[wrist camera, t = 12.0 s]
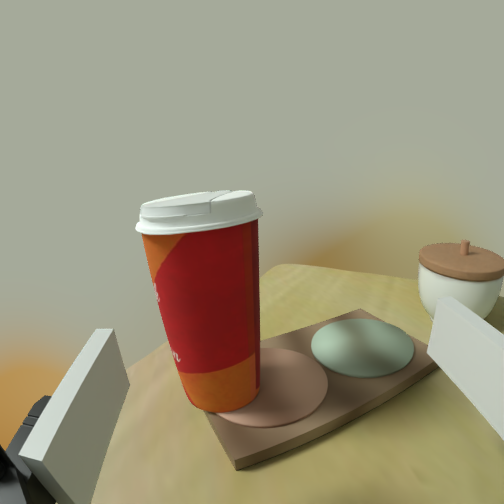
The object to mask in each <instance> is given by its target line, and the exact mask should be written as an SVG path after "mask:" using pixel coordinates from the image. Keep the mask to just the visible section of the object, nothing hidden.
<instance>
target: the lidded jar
mask: <svg viewBox="0 0 504 504" xmlns="http://www.w3.org/2000/svg"><path fill="white" fill-rule="evenodd" d="M469 244H470V241H468V240H461V244H455V243H437V244H431V245H427V246H425V247H423V248H422V249H421V250H420V252H419V272H418V288H419V295H420V299H421V302H422V305H423V307H424V308H425V310H426V312H427V313H428V314H429V315H430V319H431V321H432V322H433V321H434V316H435V311H436V305H437V299H438V298H443V297H448V296H451V297H453V298H454V299H456V300H457V301H458V302H460V303H461V304H463V305H464V306H465V307H467V308H468V309H470V310H471V311H472V312H474V313H475V314H476V315H478V316H479V317H481V318H482V319H484V318H485V317H486V316H487V315H488V314H489V313H490V312H491V310H492V309H493V307H494V305H495V303H496V301H497V299H498V296H499V293H500V290H501V286H502V282H503V277H504V259H503V258H502V257H501V256H499V255H498V254H496V253H494V252H491V251H489V250H486V249H483V248H480V247H475V246H471V245H469Z"/></svg>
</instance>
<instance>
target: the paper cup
mask: <svg viewBox="0 0 504 504" xmlns="http://www.w3.org/2000/svg"><path fill="white" fill-rule="evenodd" d="M262 215H263V212H262V210H261V209H260V208H258V207H257V205H256V200H255V196H254V194H253V192H251V191H244V190H238V191H234V192H233V191H231V190H227V191H216V192H202V193H193V194H186V195H179V196H173V197H167V198H162V199H158V200H153V201H150V202H146V203H144V204H142V206H141V207H140V222H138V223H137V224H136V231H138V232H141V233H142V238H143V242H144V247H145V252H146V256H147V260H148V265H149V269H150V273H151V277H152V281H153V285H154V289H155V293H156V297H157V301H158V305H159V309H160V313H161V316H162V320H163V323H164V327H165V331H166V334H167V337H168V341H169V344H170V347H171V351H172V354H173V357H174V360H175V364H176V367H177V370H178V373H179V376H180V379H181V381H182V384H183V387H184V390H185V392H186V395H187V397H188V399H189V400H190V402H191V403H192V404H193V405H194V406H196V407H197V408H199V409H201V410H204V411H208V412H215V413H223V412H230V411H235V410H238V409H240V408H243V407H244V406H246V405H248V404H249V403H251V402H252V401H253V400H254V399H255V398H256V396H257V394H258V392H259V388H260V297H259V251H258V250H259V248H258V247H259V246H258V218H260V217H261V216H262Z"/></svg>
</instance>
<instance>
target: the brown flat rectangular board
mask: <svg viewBox="0 0 504 504" xmlns="http://www.w3.org/2000/svg"><path fill="white" fill-rule="evenodd" d="M427 349H428V345H426V344H425V343H423V342H421V341H419V340H417V339H415V338H414V337H412V336H410V335H408V334H406V333H405V332H404V331H403V330H401V329H400V328H398V327H396V326H394V325H391V324H389V323H386V322H384V321H382V320H381V319H379V318H377V317H375V316H373V315H371V314H370V313H368V312H366V311H364V310H362V309H358V310H355V311H352V312H349V313H346V314H343V315H341V316H338V317H335V318H332V319H329V320H326V321H323V322H320V323H317V324H314V325H311V326H308V327H305V328H301V329H298V330H295V331H292V332H289V333H285V334H282V335H279V336H276V337H272V338H269V339H266V340H262V341H260V388H259V392H258V394H257V396H256V398H255V399H254V400H253V401H252V402H251V403H249V404H248V405H246V406H244V407H243V408H240V409H238V410H235V411H230V412H223V413H215V412H208V411H204V412H205V414H206V416H207V418H208V420H209V422H210V424H211V426H212V428H213V430H214V432H215V433H216V435H217V437H218V439H219V441H220V443H221V445H222V446H223V448H224V450H225V452H226V454H227V455H228V457H229V459H230V461H231V463H232V464H233V466H234V468H235V469H236V470H239V469H242V468H245V467H248V466H250V465H253V464H256V463H259V462H261V461H264V460H267V459H269V458H272V457H274V456H277V455H279V454H282V453H284V452H287V451H289V450H291V449H294V448H296V447H298V446H301V445H303V444H305V443H307V442H309V441H312V440H314V439H316V438H318V437H320V436H322V435H324V434H326V433H328V432H331V431H333V430H335V429H337V428H339V427H340V426H342V425H344V424H346V423H348V422H350V421H352V420H354V419H356V418H358V417H359V416H361V415H363V414H365V413H367V412H368V411H370V410H372V409H374V408H375V407H377V406H379V405H381V404H382V403H384V402H386V401H387V400H389V399H391V398H392V397H394V396H395V395H397V394H399V393H400V392H402V391H403V390H405V389H406V388H408V387H410V386H411V385H413V384H414V383H416V382H417V381H419V380H420V379H422V378H423V377H425V376H426V375H427V374H429V373H430V372H432V371H433V370H435V369H436V368H437V367H439V366H438V364H437V363H436V362H435V361H434V360H433V359H432V358H431V357H430V356H429V355H428V354H427Z"/></svg>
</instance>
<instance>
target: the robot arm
mask: <svg viewBox="0 0 504 504" xmlns="http://www.w3.org/2000/svg"><path fill="white" fill-rule="evenodd" d="M427 354H428V355H429V356H430V357H431V358H432V359H433V360H434V361H435V362H436V363H437V364H438V366H439V367H440V368H441V369H442V370H443V371H444V372H445V373H446V374H447V375H448V377H449V378H450V379H451V380H452V381H453V382H454V383H455V384H456V385H457V387H458V388H459V389H460V390H461V391H462V392H463V393H464V394H465V396H466V397H467V398H468V399H469V400H470V401H471V402H472V404H473V405H474V406H475V407H476V408H477V409H478V410H479V412H480V413H481V414H482V415H483V416H484V417H485V419H486V420H487V421H488V422H489V423H490V425H491V426H492V427H493V428H494V429H495V430H496V432H497V433H498V434H499V435H500V437H501V438H502V439H503V440H504V335H503V334H502V333H501V332H499V331H498V330H497V329H495V328H494V327H493V326H491V325H490V324H489V323H487V322H486V321H485V320H483V319H482V318H481V317H479V316H478V315H476V314H475V313H474V312H472V311H471V310H470V309H468V308H467V307H465V306H464V305H463V304H461V303H460V302H458V301H457V300H456V299H454V298H453V297H451V296H448V297H443V298H438V299H437V305H436V311H435V316H434V321H433V326H432V331H431V336H430V340H429V344H428V349H427ZM129 387H130V383H129V380H128V377H127V374H126V370H125V367H124V364H123V361H122V357H121V354H120V350H119V347H118V343H117V339H116V335H115V332H114V329H96V330H95V331H94V333H93V334H92V336H91V337H90V339H89V340H88V342H87V343H86V345H85V346H84V348H83V349H82V351H81V352H80V354H79V355H78V356H77V358H76V360H75V361H74V363H73V364H72V366H71V367H70V369H69V370H68V372H67V373H66V375H65V376H64V378H63V380H62V381H61V383H60V384H59V386H58V388H57V389H56V391H55V392H54V394H53V396H44V397H42V398H41V399H40V400H39V401H38V402H36V403H35V404H34V405H33V407H32V409H31V410H30V412H29V413H28V417H26V418H25V420H24V421H23V425H21V426H20V428H19V429H18V431H17V433H16V434H15V436H14V438H13V439H12V441H11V443H10V444H9V446H8V448H7V450H6V451H4V449H3V448H2V447H1V445H0V504H55V503H56V502H57V503H58V504H91V500H92V497H93V494H94V490H95V487H96V484H97V480H98V477H99V474H100V471H101V468H102V465H103V461H104V458H105V455H106V452H107V449H108V446H109V443H110V440H111V437H112V434H113V431H114V428H115V426H116V423H117V420H118V417H119V414H120V411H121V409H122V406H123V403H124V400H125V397H126V395H127V392H128V389H129Z"/></svg>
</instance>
